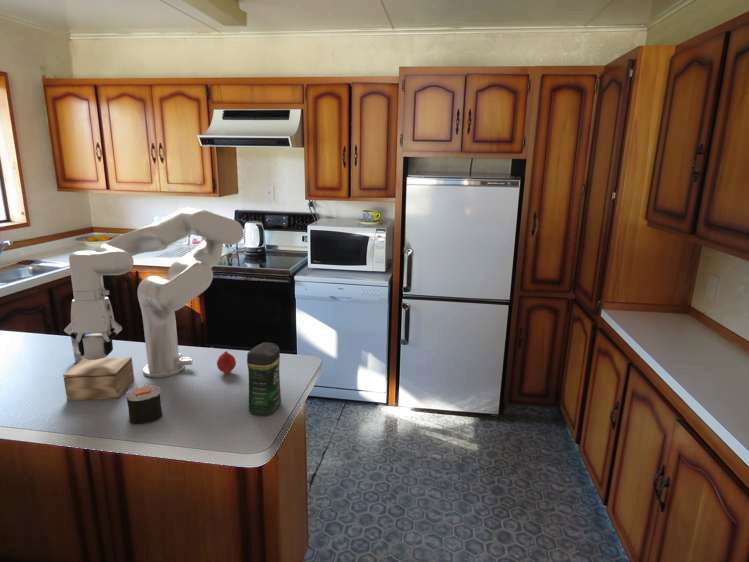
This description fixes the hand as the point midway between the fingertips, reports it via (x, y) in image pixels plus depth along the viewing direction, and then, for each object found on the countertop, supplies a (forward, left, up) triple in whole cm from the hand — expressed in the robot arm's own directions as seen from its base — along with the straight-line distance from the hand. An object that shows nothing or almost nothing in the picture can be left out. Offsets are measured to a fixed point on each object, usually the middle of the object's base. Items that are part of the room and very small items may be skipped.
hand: (96, 352), depth 137 cm
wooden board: (0, 0, -5) cm, 5 cm away
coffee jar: (-50, +15, -12) cm, 53 cm away
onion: (-35, -8, -12) cm, 38 cm away
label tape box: (+14, -25, -12) cm, 31 cm away
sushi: (-18, +17, -12) cm, 28 cm away
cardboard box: (0, 0, -12) cm, 12 cm away
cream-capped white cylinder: (0, 0, -1) cm, 1 cm away
